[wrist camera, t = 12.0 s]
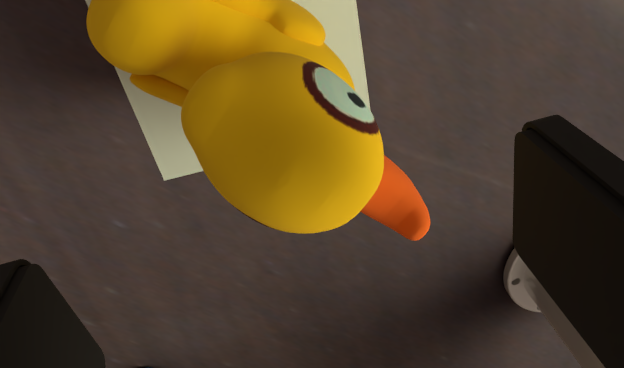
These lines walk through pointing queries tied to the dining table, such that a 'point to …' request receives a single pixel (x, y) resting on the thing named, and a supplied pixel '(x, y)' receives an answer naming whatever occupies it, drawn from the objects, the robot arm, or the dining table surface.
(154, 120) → the tower top
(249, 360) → the dining table surface
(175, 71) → the duckling
